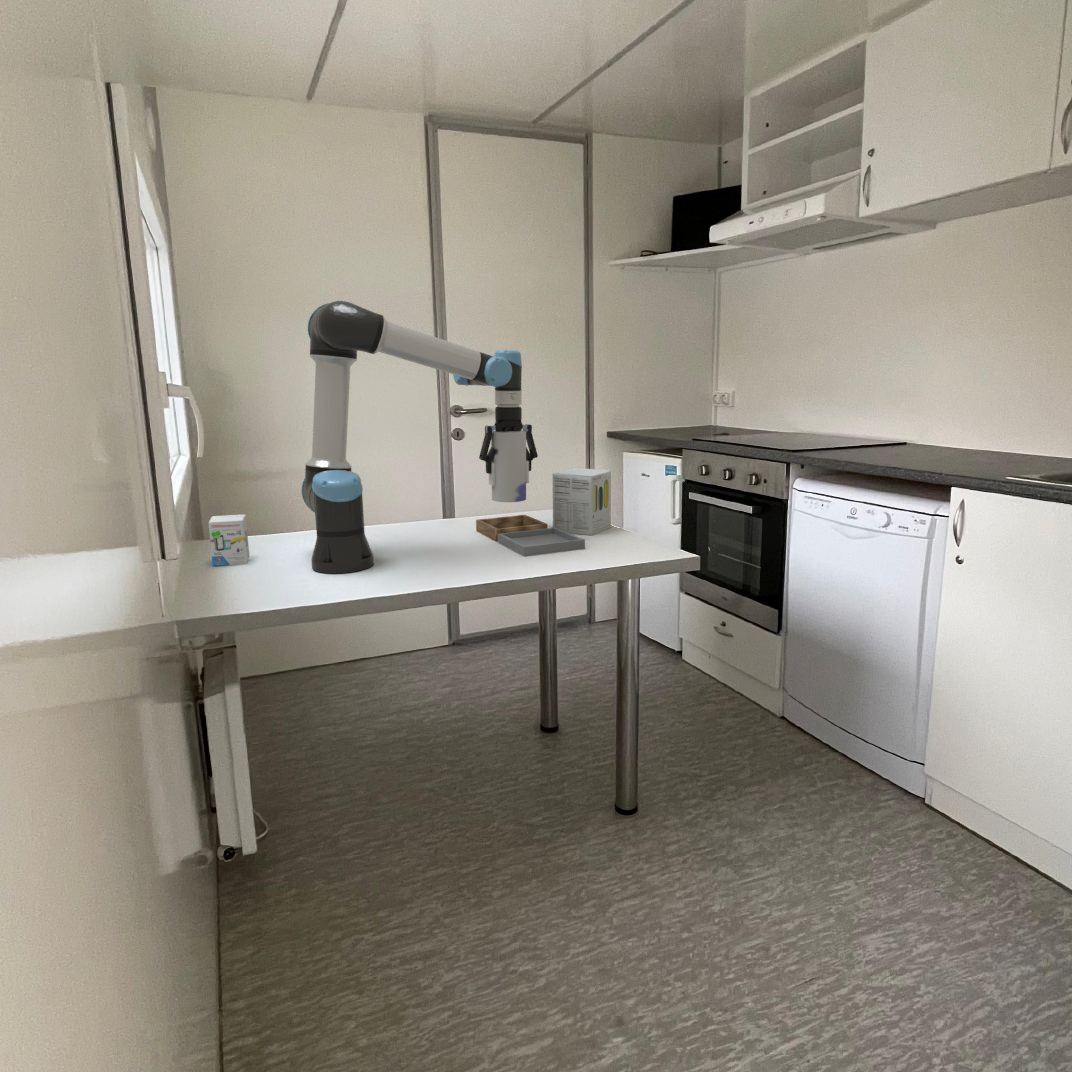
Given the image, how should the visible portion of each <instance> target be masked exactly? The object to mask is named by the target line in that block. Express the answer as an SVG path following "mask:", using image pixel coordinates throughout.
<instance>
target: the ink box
mask: <svg viewBox="0 0 1072 1072" xmlns="http://www.w3.org/2000/svg"><path fill="white" fill-rule="evenodd" d="M207 524H208V533H209V543H210V551H211V552H210V553H211V554H210V555H211V564H212V567H219V566H220V567H221V566H222V567H223V566H236V565H248V562H249V560H250V545H249V538H248V537H249V535H248V526H247V525H248V524H247V514H231V515H228V514H227V515H213V516H211V517H210V519H209V521H208V523H207Z"/></svg>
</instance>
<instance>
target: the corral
mask: <svg viewBox="0 0 1072 1072" xmlns="http://www.w3.org/2000/svg"><path fill="white" fill-rule="evenodd" d="M475 527H476V529H475V531H476V532H477V533H479V534H481V535H482V536H485V537H487V538H488V539H490V540H492V541H494V542H496V543H498V534H501V533H510V532H518V531H527V530H536V529H545V528H549V527H548V523H546V522H544V521H541V520H539V519H536V518H534V517H531V516H530V515H527V514H519V515H518V514H517V515H508V516H499V517H489V518H482V519H475Z"/></svg>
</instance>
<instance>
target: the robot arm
mask: <svg viewBox="0 0 1072 1072" xmlns="http://www.w3.org/2000/svg"><path fill="white" fill-rule="evenodd" d="M307 332H308V336H309V339H310V341H309V343H310V345H309V357H311V359H312V360H313V362H314V363H315V370H314V371H315V376H314V400H313V426H312V444H311V445H312V450H311V458H310V459H309V460H307V462H306V463H305V469H304V470H305V472H304V473H305V474H304V479H303V482H302V483H301V484H302V485H301V490H300V491H301V497H302V500H303V502H304V503H305V505H306V506H307V508H309V509H310V511H311V512H313V513H314V520H315V530H316V540H315V544H314V548H313V552H312V556H311V569H312V570H313V571H315V572H317V573H323V574H324V573H325V574H345V573H346V574H347V573H354V572H359V571H363V570H367V569H369V568H371V567H372V566H374V564H375V562H374V561H375V559H374V553H373V551H372V548H371V547H370V544H369V541H368V539H367V536H366V534H365V533H366V532H365V520H364V519H365V516H364V504H363V503H364V501H363V499H364V498H363V484H362V479H361V477H360V475H359V474H357V473H356V472H354V471H352V465H351V464H350V462H348V461H347V448H348V447H347V443H348V442H347V441H348V427H349V426H348V424H349V422H348V421H349V420H348V419H349V403H350V402H349V401H350V381H351V379H350V378H351V366H353V364H354V363H355V362H357V360H358V351H359V352H363V353H367V354H371V355H375V354H377V353H381V354H385V355H388V356H392V357H394V358H399V359H402V360H405V361H407V362H412V363H414V364H418V365H421V366H424V367H426V368H427V367H428V368H431V369H435V370H438V371H442V372H445V373H447V374H451V375H453V380H454V382H455V383H456V384H457V385H458V386H487V387H494V404H495V405H496V407H495V408H494V409H495V412H494V419H495V422H494V425H485V426H484V436H483V437H484V438H483V440H482V443H481V444H482V445H481V449H480V453H479V456H478V458H479V460H481V461H484V462H485V474H488V485H490V486H491V487H492V486H493V485H495V463H494V462H492V460H493V458H494V456H495V447H494V448H492V447H491V446H490V445H491V438H492V433H493V432H494V431H497V432H508V431H526V445H527V446H526V484H529V483H530V480H529V479H530V478H529V477H530V475H529V474H530V472H531V471H532V461H533V460H534V459H537V458H538V457H539V456H538V452H537V448H536V444H535V439H534V437H533V434H532V433H533V431H532V429H533V425H532V424H528V423H526V424H523V423H522V411H523V410H522V407H521V405H522V399H523V398H522V393H523V392H522V368H523V364H522V363H523V362H522V354H521V352H520V351H519V350H511V349H510V350H509V349H508V350H507V349H506V350H505V349H504V350H503V349H502V350H501V349H500V350H495V352H494V356H493V355H490V354H487V353H485V352H481V351H478V350H474V349H472V348H470V347H466V346H463V345H460V344H457V343H454V342H451V341H448V340H445V339H442V338H439V337H436V336H432V335H430V334H427V333H423V332H421V331H418V330H415V329H411V328H408V327H405V326H403V325H399V324H397V323H393V322H390V321H388V320H387V318H386V317H385V315H383V314H380V313H377V312H374V311H372V310H369V309H367V308H364V307H362V306H359V305H357V304H355V303H353V302H350V301H346V300H336V301H331V302H328V303H324V304H322V305H320V306H318V307H316V309H315V310H313V311H312V313H311V314H310V317H309V319H308V323H307Z"/></svg>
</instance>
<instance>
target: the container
mask: <svg viewBox="0 0 1072 1072" xmlns="http://www.w3.org/2000/svg"><path fill="white" fill-rule="evenodd" d="M490 445H491V446H490V448H491V447H492V448H494V447H495V456H494V458H493V460H492V462H494V463H495V485H493V486H492V485H491V500H492V501H494V502H498V503H519V502H523V501H526V500H527V483H526V447H527V440H526V431H523V430H521V431H508V432H497V431H496V430H494V432H493V433H492V438H491V442H490Z"/></svg>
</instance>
